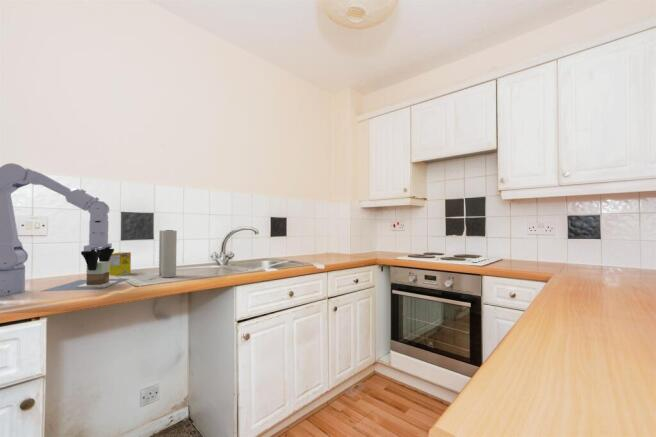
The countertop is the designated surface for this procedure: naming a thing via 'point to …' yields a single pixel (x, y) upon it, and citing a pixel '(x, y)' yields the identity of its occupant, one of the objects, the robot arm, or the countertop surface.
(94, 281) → the walnut block
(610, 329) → the countertop surface
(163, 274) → the tall grey block
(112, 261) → the supplement box
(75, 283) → the board
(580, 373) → the countertop surface
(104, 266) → the sage block
